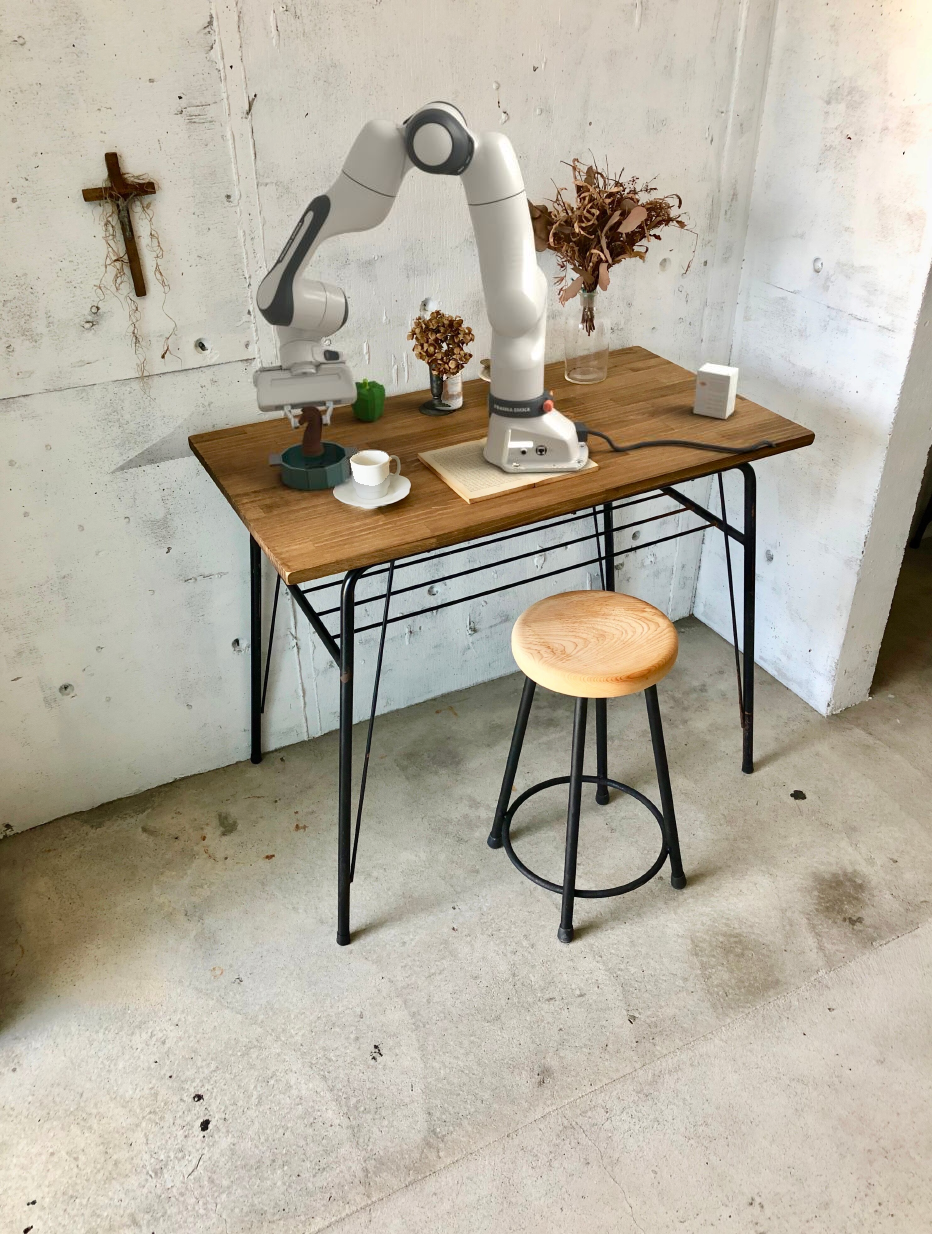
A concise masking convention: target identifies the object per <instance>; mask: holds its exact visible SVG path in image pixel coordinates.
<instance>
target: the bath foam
mask: <svg viewBox="0 0 932 1234" xmlns="http://www.w3.org/2000/svg"><path fill="white" fill-rule="evenodd" d="M441 400H442V403H445V404H448V405H450V406H451V407H435V408H436V409H438V410H440V411H441V410H442V411H453V410H457V409H459V408H461V407H462V405H463V370H462V371H460V372H459V373H457V374H456V375H454V376H451V377H450V378H448V379H446V380H444V382H443V392H442V398H441Z"/></svg>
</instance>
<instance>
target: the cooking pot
mask: <svg viewBox="0 0 932 1234" xmlns="http://www.w3.org/2000/svg"><path fill="white" fill-rule="evenodd" d="M321 443H322V445H323V448H324V452H323V453H322V454H321V455H319V456H314V457H307V456H304V455H303V454H302V453H301V450H302V449H301V446H302V442H300V443H296V444H294V445H291V446H289V447H286V448H285V449H284V450H283V451H282V452H281V453H274V454H273V453H272V454H268V461H269V462H268V463H269V468H274V467H275V468H276V467H280V473H281V481H282V483H283V484H285V485H287V486H288V487H290V488H292V489H297V490H302V491H320V490H328V489H330V488H333V487H335V486H339V485H341V484H344V482H345V481H346V480H347V479H348V478H349V477H350V476H351V469H350V468H351V467H350V460H351V459H350V458H351V457H352V456H353V455H355V454H357V453H358V454H359V452H358V447H357V446H356V445H355V446H346V447H345V446H344V445H341V444H339V443H338V442H332V441H325V440H321Z"/></svg>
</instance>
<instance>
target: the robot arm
mask: <svg viewBox="0 0 932 1234" xmlns="http://www.w3.org/2000/svg"><path fill="white" fill-rule="evenodd" d="M459 109H460V108H458V107H457V106H455V105H454V104H452V103H450V102H448V101H443V100H435V101H431V102H429V103H427V104H424V105H422V106H421V107H419V108H418V109H417V110H416V111H415V112H414V113H413V114H411V115H410V116H408V118H406V119H405V120H404V121H403V122H402V124H399V123H396V122H393V121H391V120H389V119H385V118H374V119H371V120H368V121H367V122H366V123H365V124H364V125H363V126H362V129H361V130H360V132H359V133H358V134H357V137H356V138H355V140H354V142H353V144H352V146H351V148H350V150H349V152H348V153H347V156H346V158H345V160H344V163H343V165H342V168H341V170H340V172H339V174H338V176H337V178H336V179H335V181H334V182H333V184H332V185H331V186H330V187H329V188H328V189H327V190H326V191H325V192H324V193H323V194H320V195H317V196H316V197H314V198H313V199H312V200H311V201H310V202H309V204H308V205H307V207H306V208H305V210H304V212H303V213H302V215H301V217H300V218H299V220H298V222H297V224H296V225H295V227H294V228H293V230H292V233H290V236H289V237H288V239H287V241H286V243H285V244H284V247H283V249H282V250H281V252H280V254H279V256H278V257H277V259H276V261H275V263H274V264H273V266H272V267H271V269H270V270H269V271H268V272H267V273H266V275H265V276H264V278H262V280H261V282H260V284H259V285H258V288H257V291H256V297H255V298H256V299H255V301H256V306H257V309H258V310H259V312H260V315H261V316H262V318H263V319H265V321H266V322H267V323H268V324H269V325H271V326H275V329H276V335H277V338H278V339H279V347H278V353H279V360H280V364H278V365H271V366H260V367H258V368H257V369H256V370H254V372H253V373H252V383H253V386H254V387H255V388H256V401H257V402H256V403H257V408H258V410H259V411H261V413H271V412H272V413H273V412H282V411H283V412H284V416H285V417H286V418H287V420H288V421H289V422H290V423H291V430H299V429H300V425H299V423H298V421H299V417H294V416H293V415H292V410H301V409H302V408H303V407H306V406H314V407H316V408H322V407H325V408H326V413H325V414H322V420H323V424H322V427H328V426H329V427H330V426H331V421H330V420H331V416H332V414H333V412H334V406H343V405H351V404H353V403H354V402H355V401H356V399H357V389H356V384H355V382H356V381H355V378H354V375H353V372H352V369H351V367H349V365H348V364H347V358H346V355H345V353H344V351H340V350H336V349H331V348H326V347H323V346H322V340H323V339H324V338H329V337H330V336H333V335H334V334H335V333H337V332H338V331H340V330H341V329H342V328H343V327H344V326H345V325H346V324H347V322H348V319H349V313H350V310H349V303H348V298H347V296H346V293H345V292H344V290H343V289H342V288H341V287H340V286H337V285H335V284H331V283H327V282H323V281H320V280H313V279H310V278H305V277H302V276H303V274H304V272H305V270H306V269H307V267H308V265H309V263H310V262H311V260H312V258H313V256H314V255H315V253H316V251H317V249H318V248H319V247H320V245H322V243H324V242H325V241H327V240H329V239H330V238H333V237H336V236H339V235H344V234H352V233H362V232H366V231H370V230H372V229H374V228H376V227H378V226H380V225H381V224H382V223H383V222H384V221H385V220H386V219H387V217H388V215H389V214H390V212H391V210H392V208H393V205H394V204H395V200H396V198H397V196H398V194H399V190H400V189H401V185H402V183H403V182H404V179H405V178H406V175H407V174H408V172H410V170H411V169H413V168H415V167H416V168H417V169H418V170H420V171H421V172H424V173H427V174H430V175H438V176H439V175H441V176H442V175H443V176H454V177H455V176H456V177H458V176H459V178H460V180H461V182H462V186H463V189H464V194H465V198H466V203H467V208H468V211H469V216H470V221H471V226H472V229H473V232H474V238H475V243H476V249H477V254H478V255H477V256H478V263H479V271H480V280H481V285H482V291H483V292H482V293H483V296H484V297H483V298H484V303H485V309H486V314H487V318H488V322H489V324H490V327H491V342H490V351H489V352H490V354H489V361H490V362H489V363H490V364H489V368H490V369H489V371H490V372H489V374H490V376H489V379H490V381H489V383H490V387H489V388H490V389H489V391H488V394H487V414H488V419H489V420H488V428H487V429H488V430H487V435H486V436H487V437H486V441H485V446H484V448H483V451H482V455H483V458H484V459H485V460H486V461H488V462H489V463H491V464H493V465H495V466H498V467H499V468H501V469H502V470H503V471H505V472H506V473H546V472H547V473H549V472H550V473H551V472H552V473H554V472H556V473H557V472H577V471H579V470H580V469H582V468H584V466H585V465H586V464H587V462H588V459H589V447H588V445H587V444H586V443H588V437H589V435H592V436H596V437H599V438H600V439H603V440H605V441H606V442H607V444H608V445H609V447H610V448H611V449H612V450H614V451H616V452H628V451H632V450H634V449H639V448H642V447H648V446H658V445H681V446H684V445H685V446H690V447H695V448H702V449H708V450H716V451H721V452H722V451H723V452H730V453H745V452H746V453H747V452H751V451H753V450H755V449H757V448H760V447H762V446H764V445H765V446H766V445H767V446H769V447H771V448H776V444H775V443H774V442H773V441H771V440H768V439H766V440H760V441H758V442H757V443H754V444H752V445H750V446H746V447H730V446H724V445H717V444H709V443H703V442H696V441H690V440H680V439H658V440H649V441H642V442H638V443H634V444H631V445H629V446H623V447H621V446H617V445H615V443H614V442H613V441H612V439H611V438H610V437H609V436H608V435H606V434H605V433H602V432H599V431H596V430H592V429H588V427H587V425H586V422H585V421H574V422H573V421H572V420H570V419H569V418H568V417H566V416H565V415H563V414H562V413H561V412H560V411H558V410H557V409H555V408H554V396H553V395H554V393H553V390H550V392H548V391H547V390H546V389H545V388H544V386H545V384H544V381H545V354H546V353H545V352H546V351H545V350H546V334H547V315H548V297H549V296H548V295H549V294H548V293H549V292H548V291H549V286H548V280H547V278H546V275H545V273H544V271H543V270H542V268H541V267H540V266H539V265H538V262H537V261H538V260H537V253H536V245H535V244H536V243H535V233H534V228H533V221H532V217H531V213H530V207H529V202H528V198H527V192H526V189H525V182H524V179H523V175H522V171H521V167H520V165H519V160H518V158H517V155H516V153H515V150H514V148H513V145H512V142H511V141H510V139H509V138H508V136H506V135H505V134H504V133H502V132H499V131H494V130H488V131H487V130H485V131H482V132H474V131H472V130H471V129H469V128H468V123H467V120H466V118H465V116H464V115H463V113H462V112H461V111H460V110H459ZM302 406H303V407H302ZM573 462H575V463H573ZM513 463H516V464H519V465H513ZM578 463H580V464H581V465H580V464H578ZM545 464H546V465H548V466H546V465H545ZM512 465H513V466H512ZM552 465H553V466H552ZM515 467H523V468H525V469H511V468H515ZM544 467H545V468H544ZM546 467H551V468H546ZM552 467H557V468H552ZM558 467H562V468H558ZM563 467H567V468H563Z"/></svg>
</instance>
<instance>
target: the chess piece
mask: <svg viewBox="0 0 932 1234" xmlns="http://www.w3.org/2000/svg"><path fill="white" fill-rule="evenodd" d="M302 407H303V406H302ZM299 410H300V412H301V416H300V417H299V418H298V423H299V426H301V427H302V426H304V424H306V423H307V424H306V426H305V429H304V431H303V435H302V440H301V443H302V446H301V449H302V450H301V453H302V454H303V455H304V456H307V457H314V456H319V455H321V454H322V453H323V452H324V448H323V445H322V443H321V441H322V433H323V420H322V415H323V414H322V412H321V410H320V409H319V407H314V406H306V407H303V408H302V409H299Z"/></svg>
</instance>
